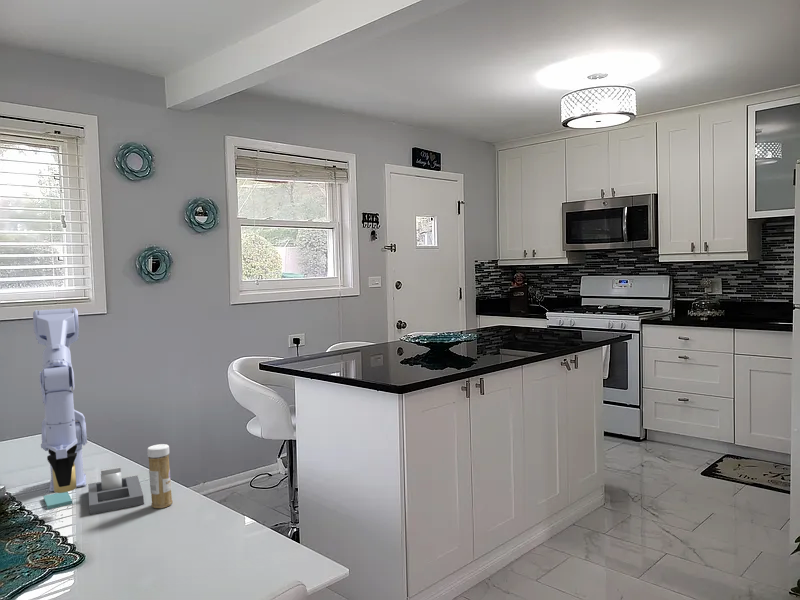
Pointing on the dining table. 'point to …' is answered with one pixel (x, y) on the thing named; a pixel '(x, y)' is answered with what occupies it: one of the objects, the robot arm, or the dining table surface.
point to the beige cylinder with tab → (65, 488)
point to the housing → (115, 496)
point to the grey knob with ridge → (111, 478)
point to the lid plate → (57, 500)
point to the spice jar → (159, 475)
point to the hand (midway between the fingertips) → (64, 482)
